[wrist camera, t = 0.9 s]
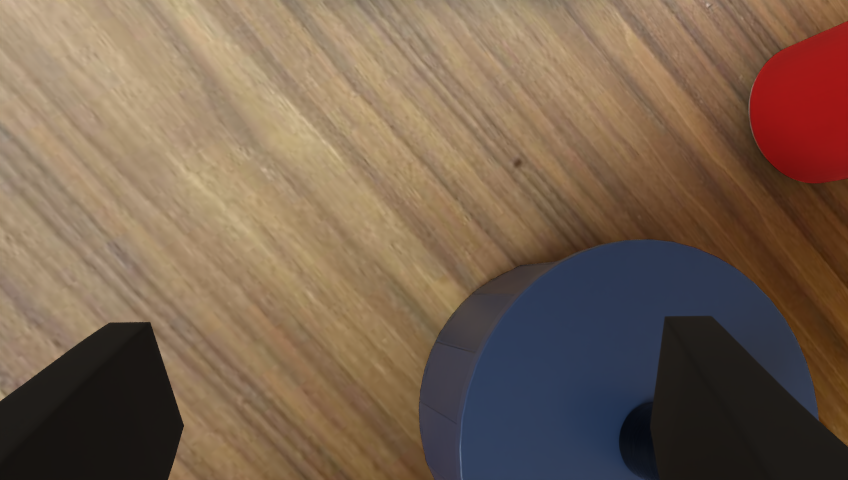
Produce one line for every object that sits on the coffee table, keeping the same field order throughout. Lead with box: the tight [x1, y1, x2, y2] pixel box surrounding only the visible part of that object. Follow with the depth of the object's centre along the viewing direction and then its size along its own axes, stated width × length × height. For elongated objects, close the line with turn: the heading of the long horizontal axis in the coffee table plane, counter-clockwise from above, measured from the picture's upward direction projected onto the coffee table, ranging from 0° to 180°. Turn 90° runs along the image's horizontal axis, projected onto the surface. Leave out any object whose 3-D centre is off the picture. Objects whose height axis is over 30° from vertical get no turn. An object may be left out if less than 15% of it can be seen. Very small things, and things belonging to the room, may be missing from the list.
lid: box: [455, 239, 818, 480], centre depth 21 cm, size 13×13×5 cm
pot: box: [419, 261, 558, 480], centre depth 26 cm, size 12×12×6 cm
